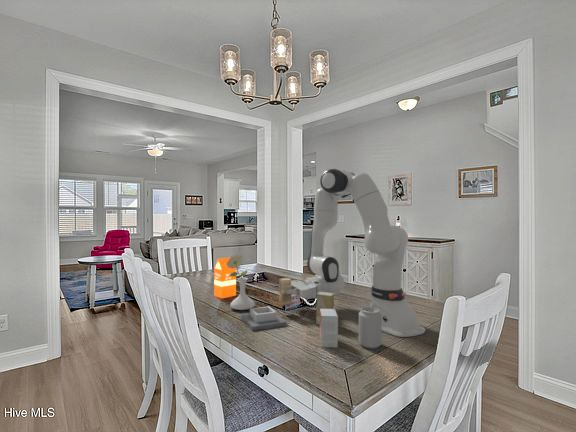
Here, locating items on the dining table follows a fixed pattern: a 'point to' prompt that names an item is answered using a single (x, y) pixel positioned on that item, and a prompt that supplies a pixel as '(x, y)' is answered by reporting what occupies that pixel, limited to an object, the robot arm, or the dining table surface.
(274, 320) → the socket board
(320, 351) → the dining table surface
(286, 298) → the maple peg
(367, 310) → the can
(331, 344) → the small box
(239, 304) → the flower in vase
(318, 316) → the skincare box
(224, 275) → the orange juice
